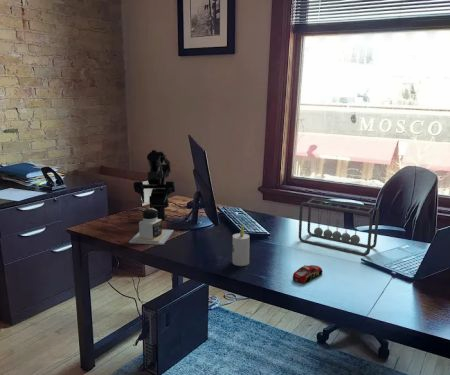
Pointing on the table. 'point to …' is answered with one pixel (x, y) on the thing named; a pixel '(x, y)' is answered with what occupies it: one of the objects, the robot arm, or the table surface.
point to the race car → (307, 273)
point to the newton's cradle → (337, 235)
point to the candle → (241, 248)
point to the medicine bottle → (150, 225)
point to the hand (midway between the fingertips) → (153, 202)
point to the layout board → (158, 240)
